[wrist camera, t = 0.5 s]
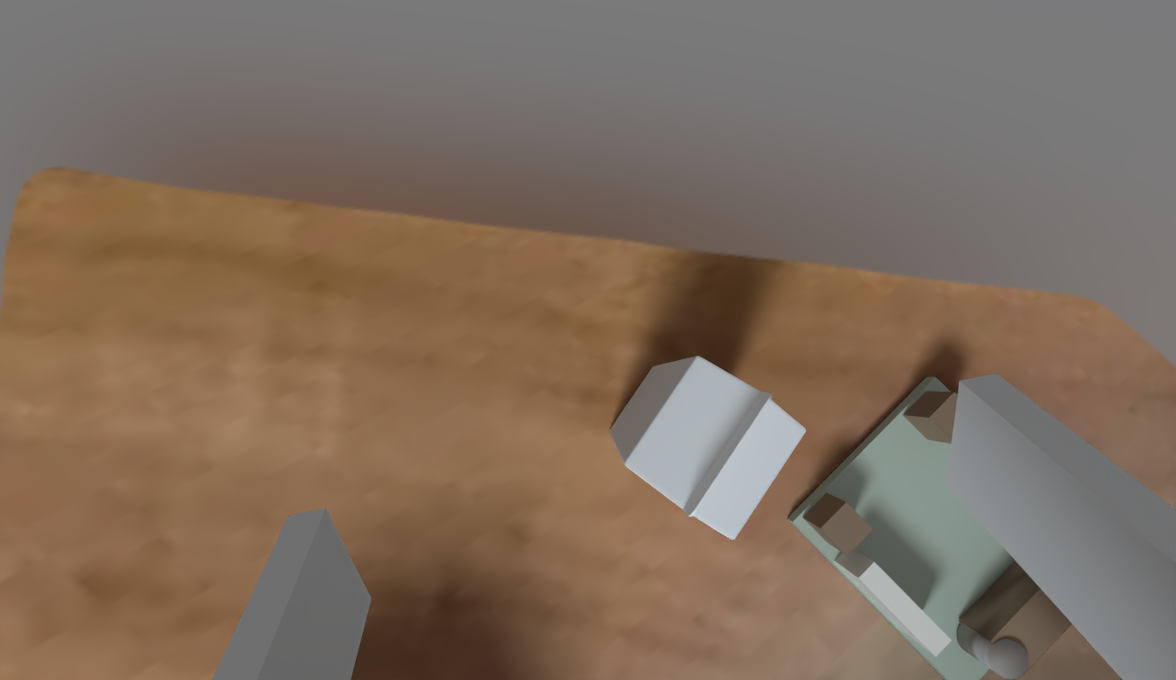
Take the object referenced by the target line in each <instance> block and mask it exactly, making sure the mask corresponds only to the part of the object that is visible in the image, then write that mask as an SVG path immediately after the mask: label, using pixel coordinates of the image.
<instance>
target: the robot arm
mask: <svg viewBox="0 0 1176 680" xmlns="http://www.w3.org/2000/svg"><path fill="white" fill-rule="evenodd" d="M946 484H947V485H948V486H949V487H950V488H951V489H952V490H953V492H954V493H955V494H956V495H957V496H958V497H959V498H960V499H961V500H962V502H963V503H964V504H965V505H966V506H967V507H968V508H969V509H970V511H971V512H972V513H973V514H974V515H975V516H976V517H977V518H978V519H979V521H980V522H981V523H982V524H983V525H984V526H985V527H986V528H987V529H988V531H989V532H990V533H991V534H992V535H993V536H994V537H995V538H996V539H997V541H998V542H999V543H1000V544H1001V545H1002V546H1003V547H1004V548H1005V549H1006V551H1007V552H1008V553H1009V554H1010V555H1011V556H1012V557H1013V558H1014V560H1015V561H1016V562H1017V563H1018V564H1019V565H1020V566H1021V567H1022V568H1023V570H1024V571H1025V572H1026V573H1027V574H1028V575H1029V576H1030V577H1031V578H1032V580H1033V581H1034V582H1035V583H1036V584H1037V585H1038V586H1039V587H1040V588H1041V590H1042V591H1043V592H1044V593H1045V594H1046V595H1047V596H1048V597H1049V598H1050V600H1051V601H1052V602H1053V603H1054V604H1055V605H1056V606H1057V607H1058V609H1059V610H1060V611H1061V612H1062V613H1063V614H1064V615H1065V616H1066V617H1067V619H1068V620H1069V621H1070V622H1071V623H1072V624H1073V625H1074V626H1075V627H1076V629H1077V630H1078V631H1079V632H1080V633H1081V634H1082V635H1083V636H1084V637H1085V639H1086V640H1087V641H1088V642H1089V643H1090V644H1091V645H1092V646H1093V647H1094V649H1095V650H1096V651H1097V652H1098V653H1099V654H1100V655H1101V656H1102V658H1103V659H1104V660H1105V661H1106V662H1107V663H1108V664H1109V665H1110V666H1111V668H1112V669H1113V670H1114V671H1115V672H1116V673H1117V674H1118V675H1119V676H1120V678H1121V679H1122V680H1176V510H1175V509H1174V508H1172V507H1171V506H1170V505H1168V504H1167V503H1166V502H1164V501H1163V500H1162V499H1161V498H1159V497H1158V496H1157V495H1155V494H1154V493H1153V492H1151V491H1150V490H1149V489H1147V488H1146V487H1145V486H1143V485H1142V484H1141V483H1140V482H1138V481H1137V480H1136V479H1134V478H1133V477H1132V476H1130V475H1129V474H1128V473H1126V472H1125V471H1124V470H1123V469H1121V468H1120V467H1119V466H1117V465H1116V464H1115V463H1113V462H1112V461H1111V460H1109V459H1108V458H1107V457H1105V456H1104V455H1103V454H1102V453H1100V452H1099V451H1098V450H1096V449H1095V448H1094V447H1092V446H1091V445H1090V444H1088V443H1087V442H1086V441H1084V440H1083V439H1082V438H1081V437H1079V436H1078V435H1077V434H1075V433H1074V432H1073V431H1071V430H1070V429H1069V428H1067V427H1066V426H1065V425H1064V424H1062V423H1061V422H1060V421H1058V420H1057V419H1056V418H1054V417H1053V416H1052V415H1050V414H1049V413H1048V412H1046V411H1045V410H1044V409H1043V408H1041V407H1040V406H1039V405H1037V404H1036V403H1035V402H1033V401H1032V400H1031V399H1029V398H1028V397H1027V396H1025V395H1024V394H1023V393H1022V392H1020V391H1019V390H1018V389H1016V388H1015V387H1014V386H1012V385H1011V384H1010V383H1008V382H1007V381H1006V380H1004V379H1003V378H1002V377H1001V376H999V375H998V374H997V373H996V374H991V375H986V376H981V377H976V378H971V379H966V380H961V381H959V388H958V396H957V404H956V412H955V419H954V427H953V435H952V442H951V450H950V458H949V465H948V473H947V481H946ZM371 599H372V598H371V596H370V594H369V592H368V591H367V589H366V587H365V585H364V583H363V581H362V579H361V577H360V575H359V573H358V571H357V569H356V567H355V565H354V563H353V561H352V559H351V557H350V555H349V553H348V551H347V549H346V547H345V545H344V543H343V541H342V540H341V538H340V536H339V534H338V532H337V530H336V528H335V526H334V524H333V522H332V520H331V518H330V516H329V514H328V512H327V510H326V508H325V509H320V510H315V511H310V512H305V513H300V514H295V515H290V516H288V518H287V520H286V523H285V525H284V527H283V529H282V531H281V533H280V535H279V538H278V540H277V542H276V544H275V546H274V548H273V550H272V553H271V555H270V557H269V559H268V561H267V563H266V565H265V568H264V570H263V572H262V574H261V576H260V578H259V580H258V583H257V585H256V587H255V589H254V591H253V593H252V595H251V598H250V600H249V602H248V604H247V606H246V608H245V610H244V613H243V615H242V617H241V619H240V621H239V623H238V625H237V628H236V630H235V632H234V634H233V636H232V638H231V640H230V643H229V645H228V647H227V649H226V651H225V653H224V655H223V658H222V660H221V662H220V664H219V666H218V668H217V670H216V673H215V675H214V677H213V679H212V680H351V677H352V673H353V669H354V665H355V661H356V657H357V653H358V650H359V646H360V642H361V638H362V634H363V630H364V626H365V623H366V619H367V615H368V611H369V607H370V603H371Z"/></svg>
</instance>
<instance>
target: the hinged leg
mask: <svg viewBox="0 0 1176 680" xmlns="http://www.w3.org/2000/svg"><path fill="white" fill-rule="evenodd" d="M958 621H959V622H960V623H961V625H960V626H959V628H958V630H957V641H958V643H959V645H960V647H961V648H962V649H963V650H964V651H966V652H967V653H969V654H970V655H971V656H973V657H974V658H976V659H977V660H979V661H980V662H981V663H983V664H984V665H986V666H987V667H988V668H990V669H991V670H993V671H994V672H995V673H997V674H998V675H1000V676H1001V677H1003V678H1006V679H1016V678H1018V677H1020V676H1022V675H1024V674H1025V673H1026V672H1027V671H1028V670H1029V669H1030V668H1031V667H1032V666H1033V664H1034V663H1035V662H1036V661H1037V660H1038V659H1039V658H1040V657H1041V656H1042V655H1043V654H1044V653H1045V652H1046V651H1047V650H1048V649H1049V647H1050V646H1051V645H1052V644H1053V643H1054V642H1055V641H1056V640H1057V639H1058V638H1059V637H1060V636H1061V635H1062V634H1063V633H1064V632H1065V630H1066V629H1067V628H1068V627H1069V626H1070V625H1071V624H1072V623H1071V622H1070V621H1069V620H1068V619H1067V617H1066V616H1065V615H1064V614H1063V613H1062V612H1061V611H1060V610H1059V609H1058V607H1057V606H1056V605H1055V604H1054V603H1053V602H1052V601H1051V600H1050V598H1049V597H1048V596H1047V595H1046V594H1045V593H1044V592H1043V591H1042V590H1041V588H1040V587H1039V586H1038V585H1037V584H1036V583H1035V582H1034V581H1033V580H1032V578H1031V577H1030V576H1029V575H1028V574H1027V573H1026V572H1025V571H1024V570H1023V568H1022V567H1021V566H1020V565H1019V564H1018V563H1017V562H1016V561H1015V562H1014V563H1013V564H1012V565H1011V566H1010V567H1009V568H1008V569H1007V570H1006V571H1005V572H1004V573H1003V574H1002V575H1001V576H1000V577H999V579H998V580H997V581H996V582H995V583H994V584H993V585H992V586H991V587H990V588H989V589H988V590H987V591H986V592H985V593H984V594H983V595H982V596H981V597H980V598H979V599H978V601H977V602H976V603H975V604H974V605H973V606H972V607H971V608H970V609H969V610H968V611H967V612H966V613H965V614H964V615H963V616H962V617H961V618H960V619H959V620H958Z"/></svg>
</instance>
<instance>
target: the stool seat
mask: <svg viewBox="0 0 1176 680" xmlns="http://www.w3.org/2000/svg"><path fill="white" fill-rule="evenodd" d="M957 396H958V395H957V394H956V393H955V392H950V391H949V390H948V389H947V388H946V387H945V386H944V385H943V384H942V383H941V382H940V381H939V380H938V379H937V378H936V377H926V378H925V379H924V380H923V381H922V382H921V383H920V384H919V385H918V386H917V387H916V388H915V389H914V390H913V391H912V392H911V393H910V394H909V395H908V396H907V397H906V398H905V399H904V400H903V401H902V402H901V403H900V404H899V405H898V406H897V407H896V408H895V409H894V410H893V412H892V413H891V414H890V415H889V416H888V417H887V418H886V419H885V420H884V421H883V422H882V423H881V424H880V425H879V426H878V427H877V428H876V429H875V430H874V431H873V432H872V433H871V434H870V435H869V436H868V437H867V438H866V439H865V440H864V441H863V442H862V443H861V444H860V445H859V446H858V447H857V448H856V449H855V450H854V451H853V452H852V453H851V454H850V455H849V456H848V457H847V458H846V459H845V460H844V461H843V462H842V463H841V464H840V465H839V466H838V467H837V468H836V469H835V470H834V471H833V472H832V473H831V474H830V475H829V476H828V477H827V479H826V480H825V481H824V482H823V483H822V484H821V485H820V486H819V487H818V488H817V489H816V490H815V491H814V492H813V493H812V494H811V495H810V496H809V497H808V498H807V499H806V500H805V501H804V502H803V503H802V504H801V505H800V506H799V507H798V508H797V509H796V510H795V511H794V512H793V513H792V514H791V515H790V516H789V517H788V518H787V519H788V520H789V521H790V522H791V523H792V524H793V525H794V526H795V527H796V528H797V529H798V530H799V531H800V532H801V533H802V534H803V535H804V536H805V537H806V538H807V539H808V540H809V541H810V542H811V543H812V544H813V545H814V546H815V547H816V548H817V549H818V550H819V551H820V552H821V553H822V555H823V556H824V557H825V558H826V559H827V560H828V561H829V562H830V563H831V564H832V565H833V566H834V567H835V568H836V569H837V570H838V571H839V572H840V573H841V574H842V575H843V576H844V577H845V578H846V579H847V580H848V581H849V582H850V583H851V584H852V585H853V586H854V587H855V588H856V589H857V590H858V591H859V592H860V593H861V594H862V595H863V596H864V597H865V598H866V599H867V600H868V601H869V602H870V603H871V604H872V606H873V607H874V608H875V609H876V610H877V611H878V612H879V613H880V614H881V615H882V616H883V617H884V618H885V619H886V620H887V621H888V622H889V623H890V624H891V625H892V626H893V627H894V628H895V629H896V630H897V631H898V632H899V633H900V634H901V635H902V636H903V637H904V638H905V639H906V640H907V641H908V642H909V643H910V644H911V645H912V646H913V647H914V648H915V649H916V650H917V651H918V652H919V653H920V654H921V655H922V657H923V658H924V659H925V660H926V661H927V662H928V663H929V664H930V665H931V666H932V667H933V668H934V669H935V670H936V671H937V672H938V673H939V674H940V675H941V676H942V677H943V678H944V679H945V680H980V679H981V678H982V677H983V676H984V675H985V673H986V672H987V671H988V670H989V669H990V668H988V667H987V666H986V665H984V664H983V663H981V662H980V661H979V660H977V659H976V658H974V657H973V656H971V655H970V654H969V653H967V652H966V651H964V650H963V649H962V648H961V647H960V645H959V643H958V641H957V630H958V628H959V626H960V625H961V623H960V622H959V621H958V620H959V619H960V618H961V617H962V616H963V615H964V614H965V613H966V612H967V611H968V610H969V609H970V608H971V607H972V606H973V605H974V604H975V603H976V602H977V601H978V599H979V598H980V597H981V596H982V595H983V594H984V593H985V592H986V591H987V590H988V589H989V588H990V587H991V586H992V585H993V584H994V583H995V582H996V581H997V580H998V579H999V577H1000V576H1001V575H1002V574H1003V573H1004V572H1005V571H1006V570H1007V569H1008V568H1009V567H1010V566H1011V565H1012V564H1013V563H1014V562H1015V560H1014V558H1013V557H1012V556H1011V555H1010V554H1009V553H1008V552H1007V551H1006V549H1005V548H1004V547H1003V546H1002V545H1001V544H1000V543H999V542H998V541H997V539H996V538H995V537H994V536H993V535H992V534H991V533H990V532H989V531H988V529H987V528H986V527H985V526H984V525H983V524H982V523H981V522H980V521H979V519H978V518H977V517H976V516H975V515H974V514H973V513H972V512H971V511H970V509H969V508H968V507H967V506H966V505H965V504H964V503H963V502H962V500H961V499H960V498H959V497H958V496H957V495H956V494H955V493H954V492H953V490H952V489H951V488H950V487H949V486H948V485H947V484H946V481H947V473H948V465H949V458H950V450H951V442H952V435H953V427H954V419H955V412H956V404H957Z"/></svg>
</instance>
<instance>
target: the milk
mask: <svg viewBox="0 0 1176 680" xmlns="http://www.w3.org/2000/svg"><path fill="white" fill-rule="evenodd" d="M771 398H772V394H771V393H764V392H761V391H759V390H757V389H755V388H754V387H752V386H750V385H749V384H747V383H745V382H743V381H742V380H740V379H738V378H736V377H735V376H733V375H731V374H730V373H728V372H726V371H724V370H723V369H721V368H719V367H717V366H716V365H714V364H712V363H711V362H709V361H707V360H705V359H704V358H702V357H700V356H695V357H691V358H686V359H682V360H678V361H674V362H669V363H665V364H661V365H657V366H653V367H652V368H651V370H650V371H649V373H648V374H647V376H646V377H645V379H644V380H643V382H642V383H641V385H640V386H639V387H638V389H637V390H636V392H635V393H634V395H633V396H632V398H631V399H630V401H629V402H628V404H627V405H626V407H625V408H624V409H623V411H622V412H621V414H620V415H619V417H618V418H617V420H616V421H615V423H614V424H613V426H612V427H611V429H610V430H609V432H610V434H611V436H612V439H613V441H614V443H615V445H616V447H617V449H618V452H619V454H620V456H621V458H622V460H623V462H624V464H625V466H626V467H628V468H629V469H630V470H632V471H633V472H634V473H635V474H637V475H638V476H639V477H641V478H642V479H643V480H645V481H646V482H647V483H649V484H650V485H651V486H653V487H654V488H655V489H657V490H658V491H659V492H661V493H662V494H663V495H665V496H666V497H667V498H669V499H670V500H671V501H672V502H674V503H675V504H676V505H678V506H679V507H680V508H682V509H683V510H684V511H685V512H686V514H687V515H688V516H689V517H691V516H694V517H696V518H697V519H699V520H701V521H702V522H704V523H705V524H707V525H709V526H710V527H712V528H713V529H715V530H717V531H718V532H720V533H722V534H723V535H725V536H726V537H728V538H730V539H732V540H734V539H735V538H736V537H737V535H738V534H739V532H740V530H741V529H742V527H743V526H744V524H745V523H746V521H747V520H748V518H749V517H750V515H751V514H752V512H753V511H754V509H755V508H756V506H757V505H758V503H759V502H760V500H761V499H762V497H763V496H764V494H765V493H766V491H767V490H768V488H769V487H770V485H771V483H772V482H773V480H774V479H775V477H776V476H777V474H778V473H779V471H780V470H781V468H782V467H783V465H784V464H785V462H786V461H787V459H788V458H789V456H790V455H791V453H792V452H793V450H794V449H795V447H796V446H797V444H798V443H799V441H800V440H801V438H802V436H803V435H804V433H805V432H806V429H805V428H804V427H803V426H802V425H801V424H800V423H798V422H797V421H796V420H795V419H794V418H792V417H791V416H790V415H789V414H788V413H786V412H785V411H784V410H783V409H782V408H780V407H779V406H778V405H777V404H776V403H774V402H773V401H772V400H771Z"/></svg>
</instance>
